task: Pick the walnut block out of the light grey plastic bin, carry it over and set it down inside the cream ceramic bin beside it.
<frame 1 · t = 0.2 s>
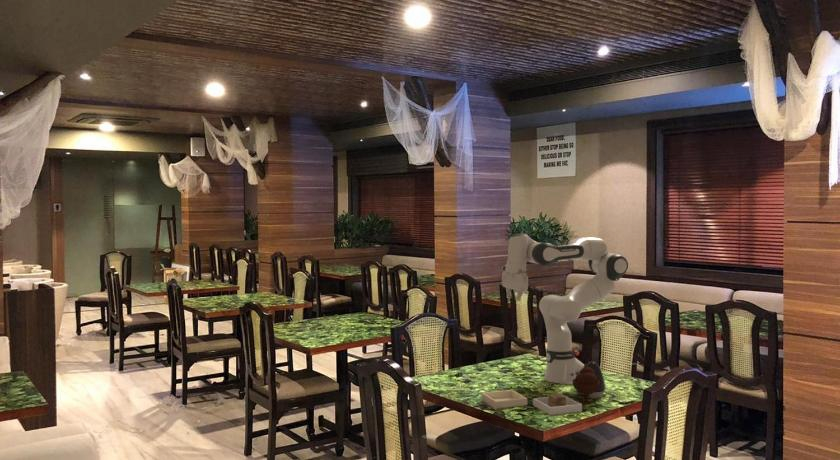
hand: (513, 299, 309), 39 cm above the table, tool pointing down, fingers open, 8 cm apart
walnut block: (557, 408, 270), point 1 cm above the table, touching grey bin
ice cream bowl: (586, 404, 278), on the table
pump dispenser: (592, 397, 288), on the table
cream bin: (504, 404, 279), on the table
grey bin: (557, 410, 270), on the table
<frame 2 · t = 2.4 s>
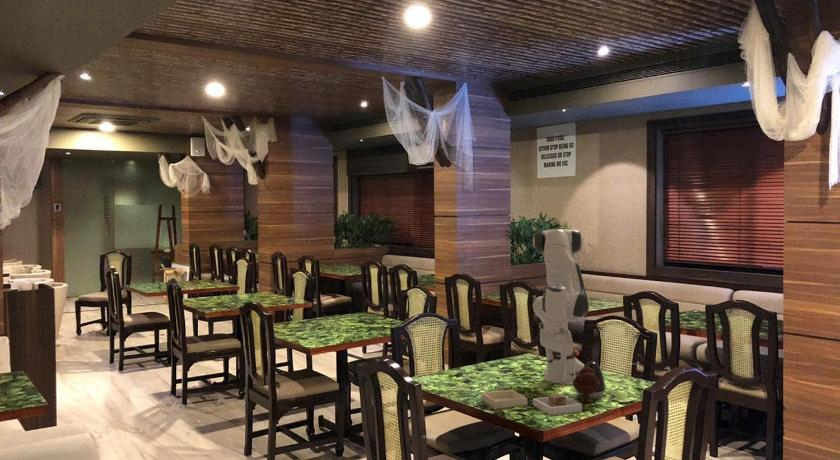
hand: (556, 361, 270), 19 cm above the table, tool pointing down, fingers open, 8 cm apart
nothing on the table moved.
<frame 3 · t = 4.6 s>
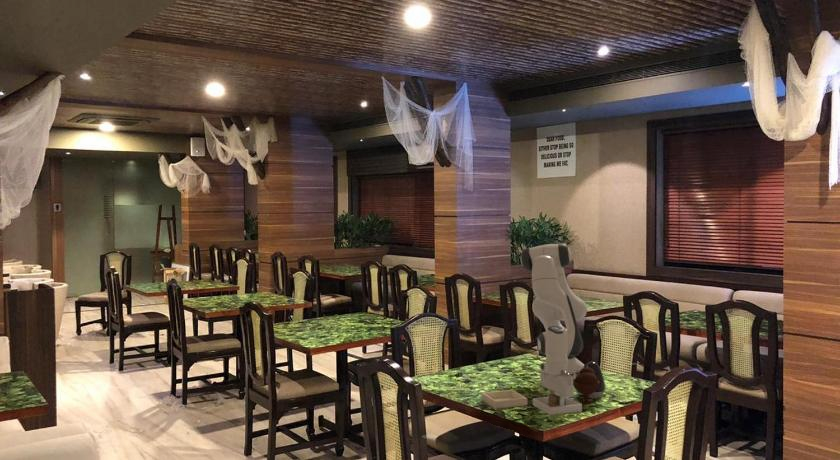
hand: (557, 402, 270), 3 cm above the table, tool pointing down, fingers closed on walnut block, 5 cm apart
walnut block: (557, 408, 270), point 1 cm above the table, touching grey bin, gripper
everything else where it was.
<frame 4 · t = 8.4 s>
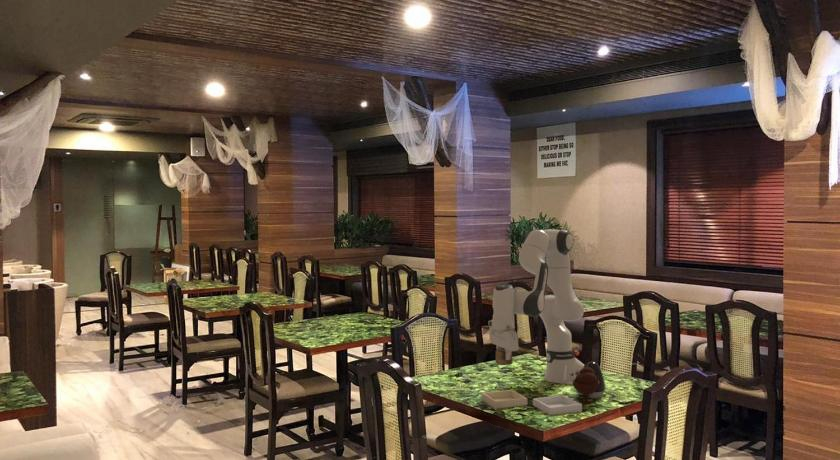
hand: (503, 358, 279), 19 cm above the table, tool pointing down, fingers closed on walnut block, 5 cm apart
walnut block: (503, 363, 279), point 17 cm above the table, touching gripper
everything else where it was.
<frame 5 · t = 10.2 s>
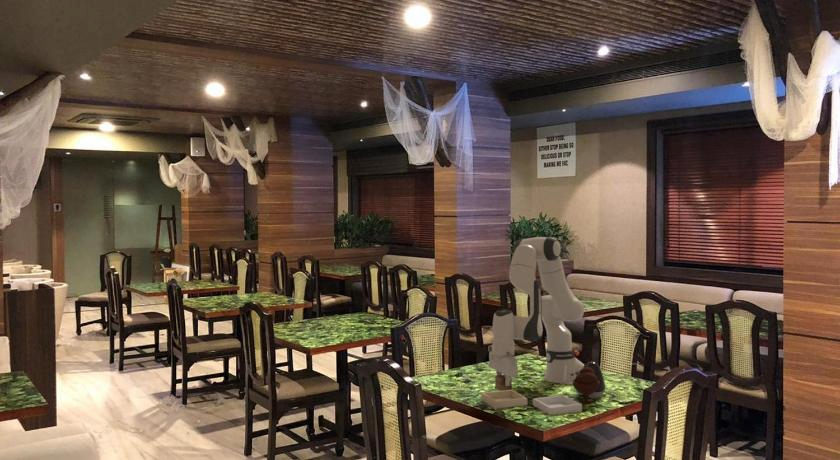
hand: (503, 383, 279), 8 cm above the table, tool pointing down, fingers closed on walnut block, 5 cm apart
walnut block: (503, 388, 279), point 6 cm above the table, touching gripper
everything else where it was.
when the fingers open (5 cm above the table, at t = 11.8 s): walnut block drops 2 cm, resting on cream bin.
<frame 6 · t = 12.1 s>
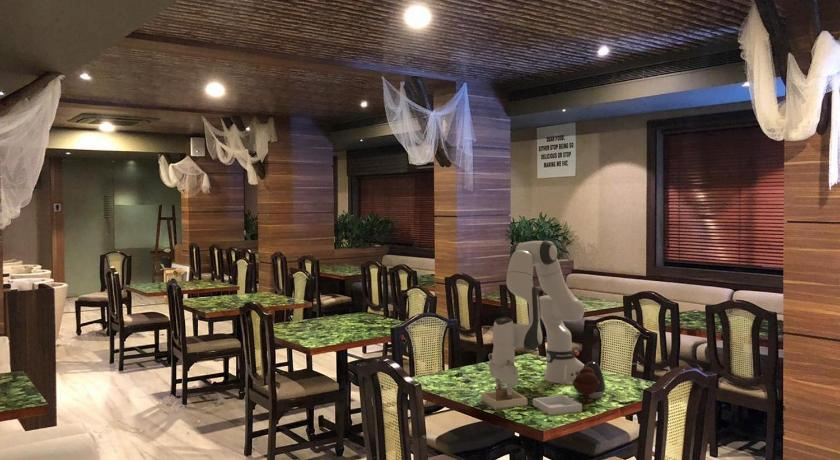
hand: (504, 391, 279), 5 cm above the table, tool pointing down, fingers open, 8 cm apart
walnut block: (504, 402, 279), point 1 cm above the table, touching cream bin
everything else where it was.
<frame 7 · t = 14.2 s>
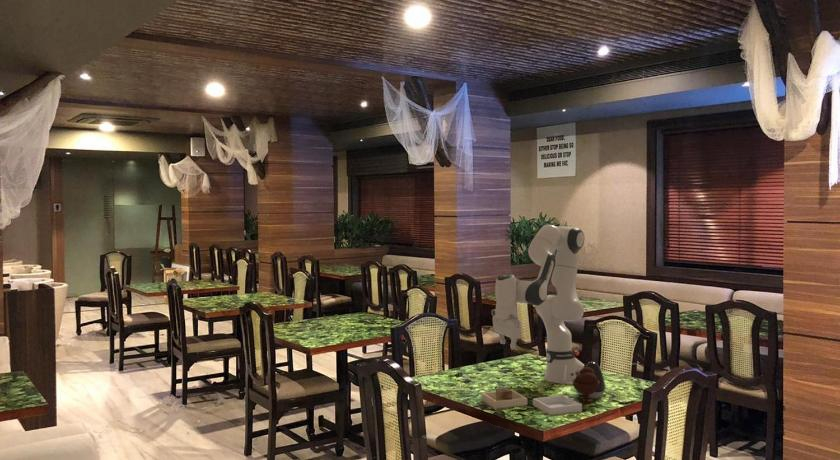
hand: (507, 345, 286), 23 cm above the table, tool pointing down, fingers open, 8 cm apart
nothing on the table moved.
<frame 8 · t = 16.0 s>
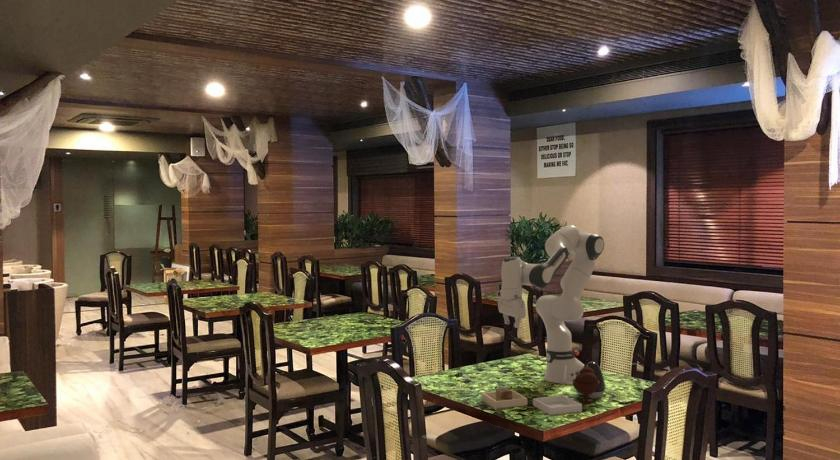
hand: (511, 325, 296), 29 cm above the table, tool pointing down, fingers open, 8 cm apart
nothing on the table moved.
at the end: walnut block inside the target area on the cream bin (0.1 cm from its centre), point 0.8 cm above the cream bin's base; the gripper is holding nothing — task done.
